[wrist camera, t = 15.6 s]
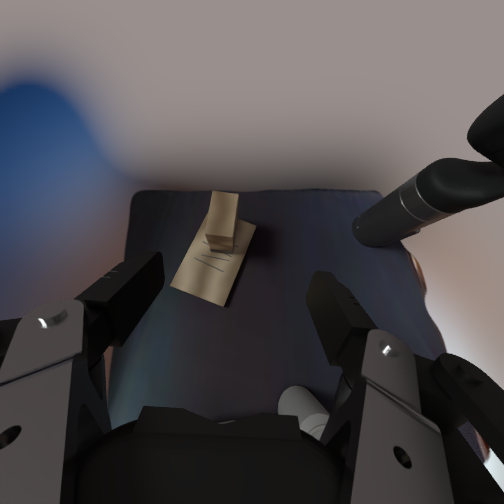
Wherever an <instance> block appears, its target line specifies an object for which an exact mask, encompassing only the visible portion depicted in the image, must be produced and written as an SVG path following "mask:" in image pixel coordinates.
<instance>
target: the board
mask: <svg viewBox="0 0 504 504" xmlns="http://www.w3.org/2000/svg"><path fill="white" fill-rule="evenodd" d="M208 213H209V212H208ZM207 219H208V214H207V216H206V217H205V219H204V221H203V223H202V225H201V227H200V229H199V231H198V233H197V235H196V237H195V239H194V240H193V242H192V244H191V246H190V248H189V250H188V252H187V254H186V256H185V258H184V260H183V262H182V263H181V265H180V267H179V269H178V271H177V273H176V275H175V277H174V279H173V281H172V283H171V285H170V286H172V287H175V288H177V289H180V290H182V291H185V292H187V293H190V294H192V295H195V296H197V297H200V298H202V299H205V300H208V301H210V302H213V303H215V304H218V305H220V306H223V307H224V305H225V302H226V300H227V297H228V295H229V293H230V290H231V288H232V285H233V283H234V280H235V278H236V275H237V273H238V270H239V268H240V265H241V263H242V261H243V258H244V256H245V253H246V251H247V248H248V246H249V243H250V241H251V238H252V236H253V234H254V231H255V229H256V226H255V225H253V224H250V223H248V222H245V221H242V220H240V219H238V221H237V229H236V236H235V244H234V252H233V254H226V253H217V252H211V251H210V246H209V244H208V241H207V239H206V236H205V229H206V224H207Z"/></svg>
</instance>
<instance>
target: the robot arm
mask: <svg viewBox="0 0 504 504" xmlns="http://www.w3.org/2000/svg"><path fill="white" fill-rule="evenodd" d="M467 140H468V142H469V144H470V145H471V146H472V147H473V149H474V150H476V151H477V152H479V153H480V154H482V155H483V156H485V157H486V158H488V159H489V160H491V161H492V162H476V161H468V160H462V159H458V158H444V159H439V160H437V161H435V162H433V163H431V164H430V165H428V166H427V167H426V168H425V169H423V170H422V171H420V172H419V173H418V174H416V175H415V176H413V177H412V178H411V179H409V180H408V181H407V182H405V183H404V184H402V185H401V186H400V187H398V188H397V189H396V190H394V191H393V192H391V193H390V194H389V195H387V196H386V197H384V198H383V199H382V200H380V201H379V202H378V203H376V204H375V205H373V206H372V207H371V208H369V209H368V210H367V211H365V212H364V213H362V214H361V215H360V216H358V217H357V218H356V219H355V220H354V222H353V225H352V229H353V233H354V235H355V237H356V238H357V240H358V241H359V242H361V243H362V244H364V245H366V246H368V247H377V246H382V247H384V246H387V245H389V244H392V243H394V242H397V241H399V240H402V239H404V238H407V237H409V236H412V235H414V234H417V233H419V232H420V228H422V227H425V226H427V225H429V224H432V223H434V222H437V221H439V220H441V219H444V218H446V217H448V216H451V215H453V214H455V213H458V212H461V211H463V210H465V209H469V208H474V207H478V206H481V205H484V204H487V203H490V202H492V201H495V200H498V199H500V198H503V197H504V94H503V95H502V96H501V97H499V98H498V99H497V100H496V101H494V102H493V103H492V104H491V105H490V106H489V107H487V108H486V109H485V110H484V111H483V112H482V113H481V114H480V115H479V116H478V117H477V118H476V120H475V121H474V122H473V124H472V125H471V127H470V129H469V131H468V133H467ZM164 281H165V275H164V266H163V257H162V253H161V252H157V251H149V250H143V251H141V252H140V253H139V254H138V255H136V256H135V257H134V258H133V259H132V258H131V259H128V260H126V261H124V262H121V263H119V264H118V265H117V266H115V267H114V268H113V269H112V270H111V271H110V272H108V273H107V274H105V275H104V276H103V277H101V278H100V279H99V280H97V281H96V282H95V283H94V284H92V285H91V286H90V287H89V288H87V289H86V290H85V291H83V292H82V293H81V294H80V295H78V296H77V297H76V298H75V299H73V300H72V299H68V300H60V301H55V302H52V303H49V304H46V305H44V306H41V307H39V308H37V309H35V310H33V311H32V312H30V313H29V314H27V315H26V316H25V317H24V318H18V319H10V320H2V321H0V504H504V492H503V491H502V489H501V488H500V487H499V485H498V484H497V482H496V481H495V480H494V478H493V477H492V475H491V474H490V473H489V471H488V470H487V469H486V467H485V466H484V464H483V463H482V462H481V460H480V459H479V457H478V456H477V455H476V453H475V452H474V451H473V449H472V448H471V446H470V445H469V444H468V442H467V441H466V440H465V438H464V437H463V435H462V434H461V433H460V431H459V430H458V429H457V428H458V427H460V426H461V425H463V424H465V423H466V422H468V421H470V423H471V424H472V425H473V427H474V428H475V429H476V430H477V432H478V433H479V434H480V435H481V437H482V438H483V439H484V440H485V442H486V443H487V444H488V446H489V447H490V448H491V449H492V451H493V452H494V453H495V454H496V456H497V457H498V458H499V459H500V461H501V462H502V463H503V464H504V390H503V389H502V388H501V387H499V385H498V384H496V383H495V382H494V381H493V380H492V379H491V378H490V377H489V376H488V375H487V374H486V373H484V372H483V371H482V370H481V369H479V368H478V367H477V366H475V365H474V364H472V363H470V362H469V361H467V360H465V359H463V358H461V357H459V356H456V355H453V354H449V353H443V354H441V355H440V356H439V357H438V358H437V359H436V360H435V361H432V360H430V359H427V358H424V357H421V356H418V355H416V354H413V353H412V351H411V350H410V349H409V347H408V346H407V345H406V344H405V343H403V342H402V341H401V340H400V339H399V338H397V337H396V336H394V335H392V334H390V333H388V332H386V331H383V330H379V329H378V328H377V326H376V325H375V324H374V322H373V321H372V320H371V318H370V317H369V316H368V314H367V313H366V312H365V310H364V309H363V308H362V306H361V305H360V304H359V302H358V301H357V299H355V297H354V295H353V294H352V293H351V291H350V290H349V289H348V288H346V287H345V286H344V285H343V284H341V283H339V282H338V281H337V279H336V278H335V276H334V275H333V274H332V273H331V272H324V271H316V272H315V273H314V275H313V278H312V280H311V283H310V286H309V289H308V291H307V295H306V303H307V306H308V309H309V312H310V314H311V317H312V320H313V322H314V325H315V327H316V330H317V333H318V335H319V338H320V341H321V343H322V346H323V349H324V351H325V354H326V356H327V359H328V362H329V364H330V365H331V366H341V368H342V370H343V373H342V374H341V376H340V379H339V383H338V387H337V390H336V394H335V397H334V401H333V404H332V408H331V412H330V415H329V418H328V421H327V424H326V426H325V428H324V430H323V432H322V435H321V437H320V440H317V439H316V438H315V437H313V436H312V435H310V434H308V433H307V432H305V431H303V430H301V429H300V426H299V420H298V416H295V415H280V414H264V413H261V414H257V415H254V416H250V417H247V418H243V419H240V420H236V421H233V422H229V423H226V424H219V423H216V422H213V421H211V420H209V419H207V418H204V417H202V416H200V415H197V414H195V413H193V412H190V411H188V410H186V409H183V408H169V407H153V406H143V408H142V411H141V413H140V415H139V417H138V420H134V421H131V422H129V423H126V424H124V425H121V426H119V427H117V428H115V429H113V430H112V427H111V422H110V417H109V413H108V408H107V396H106V377H105V360H104V355H103V353H104V352H105V350H106V349H107V348H108V346H114V347H122V346H123V344H124V343H125V341H126V340H127V338H128V337H129V336H130V334H131V333H132V331H133V330H134V328H135V327H136V325H137V324H138V323H139V321H140V320H141V318H142V317H143V315H144V314H145V313H146V311H147V310H148V308H149V307H150V305H151V304H152V302H153V301H154V300H155V298H156V297H157V295H158V294H159V292H160V291H161V289H162V288H163V285H164Z"/></svg>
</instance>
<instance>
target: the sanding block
mask: <svg viewBox="0 0 504 504" xmlns="http://www.w3.org/2000/svg"><path fill="white" fill-rule="evenodd" d="M237 221H238V194H232V193H225V192H218V191H213V192H212V198H211V203H210V208H209V213H208V219H207V224H206V229H205V236H206V239H207V241H208V244H209V246H210V251H211V252H217V253H226V254H233V252H234V244H235V236H236V229H237Z"/></svg>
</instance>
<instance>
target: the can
mask: <svg viewBox="0 0 504 504" xmlns="http://www.w3.org/2000/svg"><path fill="white" fill-rule="evenodd" d="M278 414H280V415H295V416H298V420H299V426H300V429H301V430H303V431H305V432H307V433H308V434H310V435H312V436H313V437H315V438H316V439H317V440H320V437H321V435H322V432H323V430H324V428H325V426H326V424H327V421H328V418H329V415H330V414H329V413H328V412H327V410H326V409H325V408H324V407H323V406H322V405H321V404H320V403H319V402H318V400H317V399H316V398H315V397H314V396H313V395H312V394H311V393H310V392H309V391H308V390H307V389H306V388H304V387H302V386H292V387H289V388H288V389H287V390H285V391H284V393H283V394H282V395H281V397H280V400H279V403H278Z"/></svg>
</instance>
